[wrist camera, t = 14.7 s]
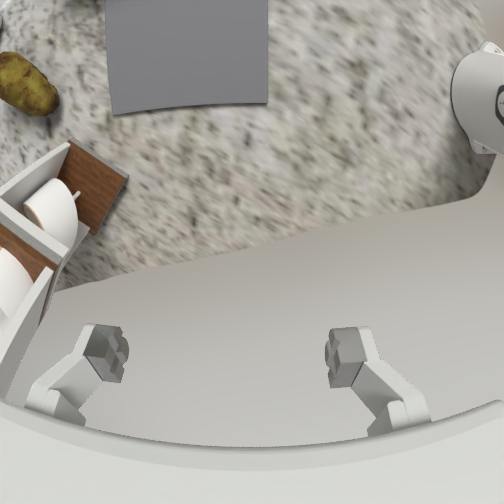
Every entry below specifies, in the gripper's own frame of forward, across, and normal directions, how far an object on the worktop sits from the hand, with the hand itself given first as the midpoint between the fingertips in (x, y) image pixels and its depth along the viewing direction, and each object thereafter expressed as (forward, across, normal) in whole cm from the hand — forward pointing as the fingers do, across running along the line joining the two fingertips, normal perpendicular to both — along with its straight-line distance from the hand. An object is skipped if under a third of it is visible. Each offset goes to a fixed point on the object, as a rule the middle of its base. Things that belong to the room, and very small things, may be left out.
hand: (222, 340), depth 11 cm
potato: (+31, +30, -12) cm, 45 cm away
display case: (+31, +24, +6) cm, 40 cm away
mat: (+31, +7, -14) cm, 35 cm away
